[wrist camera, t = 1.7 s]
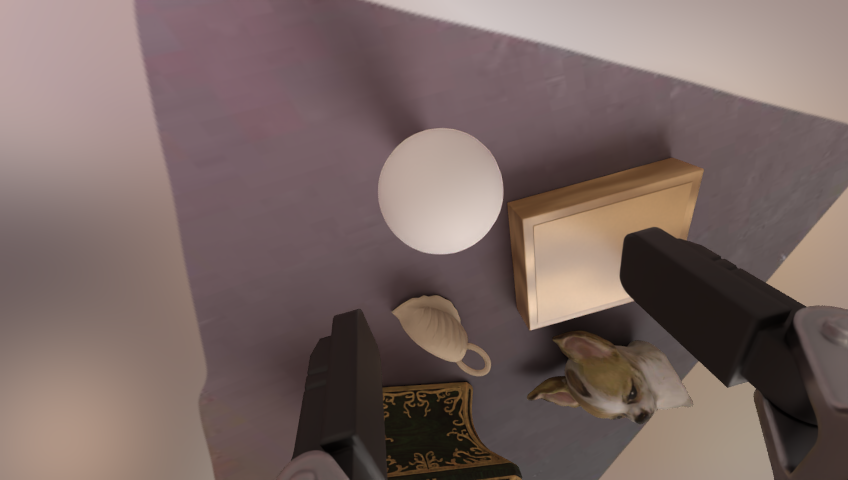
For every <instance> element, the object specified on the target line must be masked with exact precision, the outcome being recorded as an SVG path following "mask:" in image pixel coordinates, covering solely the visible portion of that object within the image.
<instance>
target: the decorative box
mask: <svg viewBox="0 0 848 480" xmlns="http://www.w3.org/2000/svg"><path fill="white" fill-rule="evenodd" d="M382 390H383V408H384V425H385V443H386V461H387V479H388V480H522V475H521V473H520V470H519V467H518V466H517V465H516V464H514V463H512V462H511V461H509V460H507V459H505V458H503V457H501V456H499V455H497V454H496V453H494V452H492V451H490V450H489V449H488V448H487V447H486V446H485V445H484V444H483V443H482V442H481V440H480V439H479V437H478V435H477V433H476V431H475V428H474V425H473V420H472V394H473V388H472V386H471V385H470V384H469V383H467V382H459V383H444V384H429V385H414V386H399V387H384V388H382Z"/></svg>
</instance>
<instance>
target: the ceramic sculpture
mask: <svg viewBox="0 0 848 480" xmlns="http://www.w3.org/2000/svg"><path fill="white" fill-rule="evenodd" d="M553 341H554V342H556V343H557V344H558V346H559V348H560V349H561V351H562V353H563V354H564V355H566V356H567V357H568V358H569V359H568V361H567V363H566V366H565V376H558V377H552V378H549V379H547V380H545V381H544V382H542V383H541V384H540V385H539V386H537V387H536V388H535V389H534V390H533V391H532V392H531V393H529V394H528V396H527V399H528V400H536V399H539V398H541V399H544V400H546V401H549V402H554V403H555V404H558V405H561V406H571V407H574V408H575V407H578V406H581V407H582V408H583V409H585V410H586V411H587V412H588V413H590V414H592V415H594V416H596V417H599V418H609V419H611V420H612V419H620V418H625V417H627V418H629V419H630V420H632V421H633V422H636V423H638V424H643V423H644V422H648V421H649V419H650V418H651V417H652V416H653V415H654V413H655V412H656V410H657V409H670V408H678V407H691V406H693V401H692V399H691V397H690V396H689V394H688V392H687V390H686V388H685V386H684V385H683V383H682V382H681V380H680V378H679V377H678V375H677V373H676V372H675V370H674V368H673V367H672V365H671V364H670V362H669V361H668V359H667V357H666V355H665V354H664V353H662V352H661V351H660V350H659V349H658V348H656V347H655V346H654V345H652V344H650V343H648V342H645V341H639V340H636V341H632V342H631V343H630V344H629V345H628V346H627V347H624V346H615V345H613V344H612V343H611V342H609V341H608V340H605V339H603V338H601V337H599V336H597V335H595V334H592V333H589V332H585V331H581V330H580V331H571V332H567V333H564V334H561V335H558V336H555V337H553Z"/></svg>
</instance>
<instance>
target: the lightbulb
mask: <svg viewBox="0 0 848 480" xmlns="http://www.w3.org/2000/svg"><path fill="white" fill-rule="evenodd" d="M378 199H379V204H380V210H381V212H382V215H383V217H384V220H385V221H386V223H387V225H388V226H389V227H390V229H391V230H392V232H393V233H394V234H395V235H396V236H397V237H398V238H399V239H400V240H401V241H403V242H404V243H405V244H407V245H409V246H410V247H412V248H413V249H416V250H419V251H421V252H425V253H431V254H450V253H456V252H459V251H462V250H464V249H467V248H468V247H470V246H472V245H474V244H475V243H477V242H478V241H479V240H481V239H482V238H483V237H484V236H485V235H486V234H487V233H488V232H489V230H490V229H491V227H492V226H493V224H494V223H495V221H496V219H497V217H498V215H499V213H500V210H501V206H502V202H503V181H502V175H501V172H500V170H499V167H498V165H497V162H496V160H495V158H494V157H493V155H492V154H491V152H490V151H489V149H488V148H486V147H485V146H484V145H483V144H482V143H481V142H480V141H479V140H477V139H476V138H474V137H473V136H471V135H469V134H467V133H465V132H462V131H459V130H455V129H446V128H436V129H429V130H424V131H421V132H419V133H416V134H414V135H412V136H410V137H409V138H407V139H405V140H404V141H403V142H402V143H400V144H399V145H398V146H397V147H396V148H395V149H394V151H393V152H392V153H391V155H390V156H389V157H388V159H387V160H386V162H385V164H384V166H383V169H382V171H381V174H380V178H379V182H378Z"/></svg>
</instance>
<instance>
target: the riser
mask: <svg viewBox="0 0 848 480" xmlns="http://www.w3.org/2000/svg"><path fill="white" fill-rule="evenodd" d="M703 171H704V169H702V168H700V167H697V166H694V165H691V164H689V163H686V162H683V161H680V160H678V159H675V158H668V159H665V160H661V161H657V162H654V163H650V164H646V165H643V166H639V167H636V168H632V169H628V170H625V171H621V172H617V173H614V174H610V175H606V176H603V177H599V178H596V179H592V180H588V181H585V182H581V183H577V184H574V185H570V186H566V187H563V188H559V189H556V190H552V191H548V192H545V193H541V194H537V195H534V196H530V197H526V198H523V199H519V200H516V201H512V202H508V203H507V206H508V217H509V228H510V239H511V250H512V260H513V271H514V282H515V293H516V303H517V310H518V311H519V313H520V315H521V317H522V318H523V320H524V322H525V323H526V325H527V327H528V329H529V330H530V331H531V330H534V329H538V328H541V327H545V326H548V325H552V324H555V323H559V322H562V321H566V320H569V319H573V318H576V317H580V316H583V315H587V314H590V313H594V312H598V311H601V310H605V309H608V308H612V307H615V306H619V305H622V304H626V303H629V302H633V301H634V300H633V299H632V298H631V297H630V296H629V295H628V294H627V293H626V292H625V290H624V288H623V287H622V284H621V281H620V266H621V257H622V249H623V241H624V238H625V236H626V235H627V234H630V233H633V232H637V231H640V230H644V229H647V228H651V227H658V228H660V229H662V230H664V231H665V232H667V233H669V234H670V235H672V236H674V237H675V238H677V239H678V238H680V239H683V240H686V239H687V235H688V231H689V227H690V223H691V219H692V215H693V211H694V207H695V203H696V199H697V195H698V191H699V187H700V183H701V179H702V175H703Z"/></svg>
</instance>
